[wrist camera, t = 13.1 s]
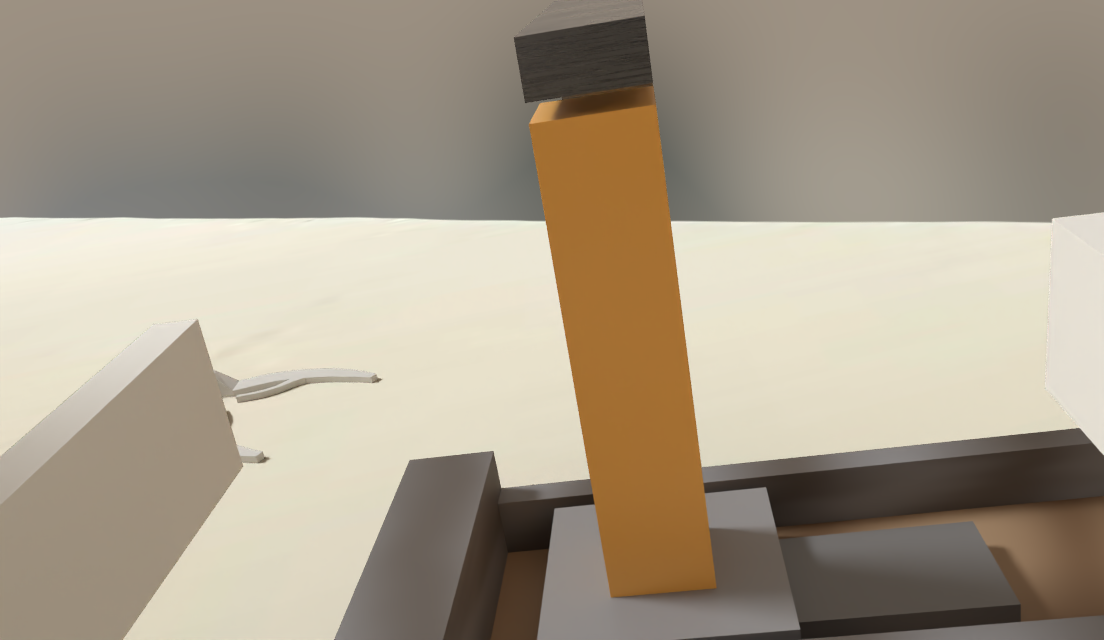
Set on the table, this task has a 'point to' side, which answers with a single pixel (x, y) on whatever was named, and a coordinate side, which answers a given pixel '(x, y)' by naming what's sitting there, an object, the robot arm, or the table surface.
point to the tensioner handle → (693, 443)
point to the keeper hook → (584, 50)
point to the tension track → (798, 510)
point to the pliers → (282, 389)
